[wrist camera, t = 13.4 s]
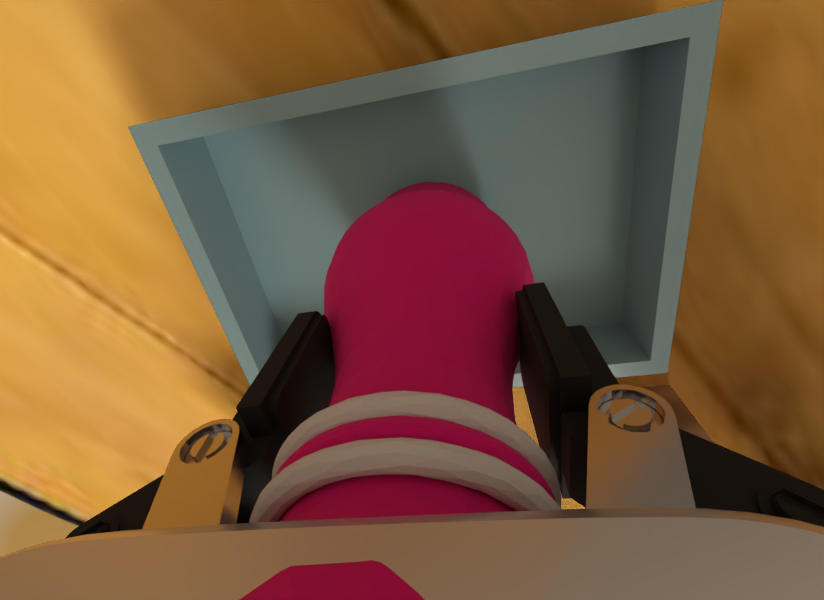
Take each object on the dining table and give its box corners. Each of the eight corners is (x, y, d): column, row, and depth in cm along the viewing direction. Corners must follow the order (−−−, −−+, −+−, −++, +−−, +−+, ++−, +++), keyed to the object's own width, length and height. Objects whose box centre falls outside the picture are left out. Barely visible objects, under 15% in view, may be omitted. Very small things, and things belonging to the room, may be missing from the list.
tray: (658, 19, 15) (723, -2, 12) (630, 326, 22) (667, 372, 18) (189, 119, 18) (127, 126, 14) (287, 363, 24) (261, 410, 21)
